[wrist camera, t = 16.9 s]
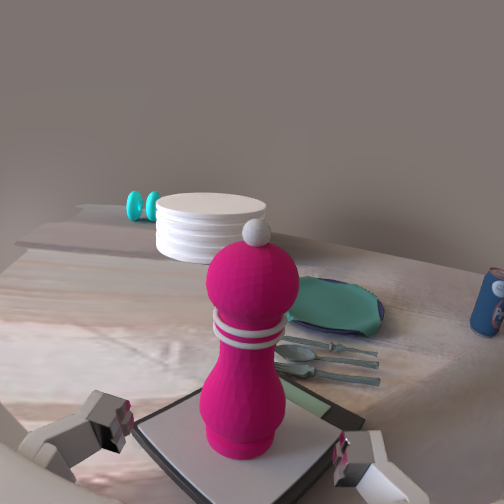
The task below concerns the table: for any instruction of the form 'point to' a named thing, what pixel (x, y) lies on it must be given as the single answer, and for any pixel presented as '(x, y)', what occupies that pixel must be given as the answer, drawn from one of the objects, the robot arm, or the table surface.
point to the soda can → (489, 305)
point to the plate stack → (202, 223)
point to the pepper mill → (247, 342)
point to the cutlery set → (331, 325)
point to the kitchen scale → (251, 470)
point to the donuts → (137, 204)
